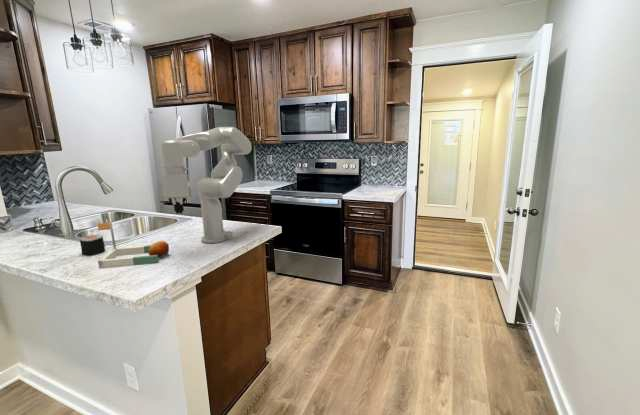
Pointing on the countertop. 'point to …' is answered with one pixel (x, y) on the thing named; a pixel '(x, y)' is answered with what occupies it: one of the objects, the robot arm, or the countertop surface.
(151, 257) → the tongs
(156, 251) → the fruit
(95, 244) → the sushi
